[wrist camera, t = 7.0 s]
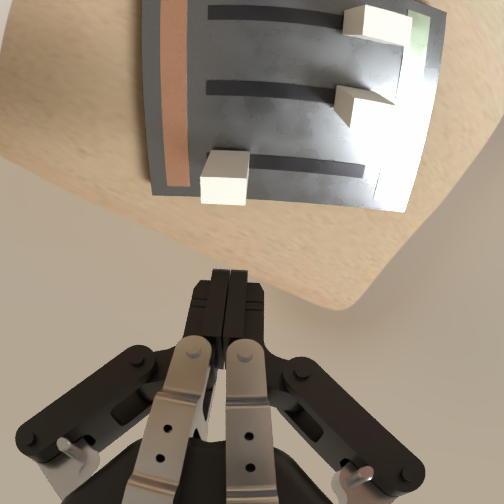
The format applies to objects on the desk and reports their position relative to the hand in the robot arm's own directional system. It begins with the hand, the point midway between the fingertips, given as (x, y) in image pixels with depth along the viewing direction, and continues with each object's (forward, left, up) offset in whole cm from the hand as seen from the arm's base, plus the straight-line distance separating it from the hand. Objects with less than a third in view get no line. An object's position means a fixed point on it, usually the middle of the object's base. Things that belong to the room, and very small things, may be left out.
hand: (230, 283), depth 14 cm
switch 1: (0, -1, -14) cm, 14 cm away
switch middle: (-6, +8, -13) cm, 17 cm away
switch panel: (-6, +3, -16) cm, 17 cm away
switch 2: (-12, +8, -13) cm, 20 cm away
